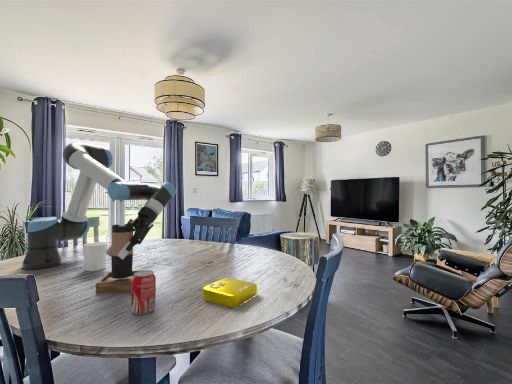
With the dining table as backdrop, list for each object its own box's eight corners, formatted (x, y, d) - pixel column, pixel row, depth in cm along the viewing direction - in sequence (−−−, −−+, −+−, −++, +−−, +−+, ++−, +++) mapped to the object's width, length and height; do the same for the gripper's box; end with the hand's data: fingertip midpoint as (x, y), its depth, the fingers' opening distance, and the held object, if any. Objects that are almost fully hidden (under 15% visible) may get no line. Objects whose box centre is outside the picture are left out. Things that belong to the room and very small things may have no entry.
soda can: (135, 306, 88) (136, 269, 88) (157, 306, 89) (158, 269, 89) (127, 316, 81) (127, 276, 81) (151, 315, 82) (152, 276, 82)
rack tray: (107, 281, 112) (107, 271, 112) (143, 279, 115) (143, 270, 115) (95, 294, 98) (96, 283, 98) (137, 291, 101) (137, 280, 101)
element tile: (235, 310, 87) (235, 295, 87) (200, 299, 95) (200, 286, 95) (258, 295, 100) (259, 282, 100) (226, 287, 108) (226, 275, 108)
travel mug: (123, 279, 102) (124, 226, 102) (106, 278, 103) (107, 225, 103) (136, 273, 109) (137, 224, 109) (120, 272, 111) (120, 223, 111)
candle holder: (78, 270, 127) (78, 244, 127) (97, 265, 136) (97, 241, 136) (92, 272, 123) (93, 246, 123) (111, 267, 132) (112, 242, 132)
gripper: (171, 218, 114) (136, 265, 100) (141, 215, 125) (105, 257, 111) (161, 206, 110) (123, 253, 96) (130, 204, 120) (92, 246, 107)
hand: (113, 255), depth 104 cm, fingers closed on travel mug, 7 cm apart
